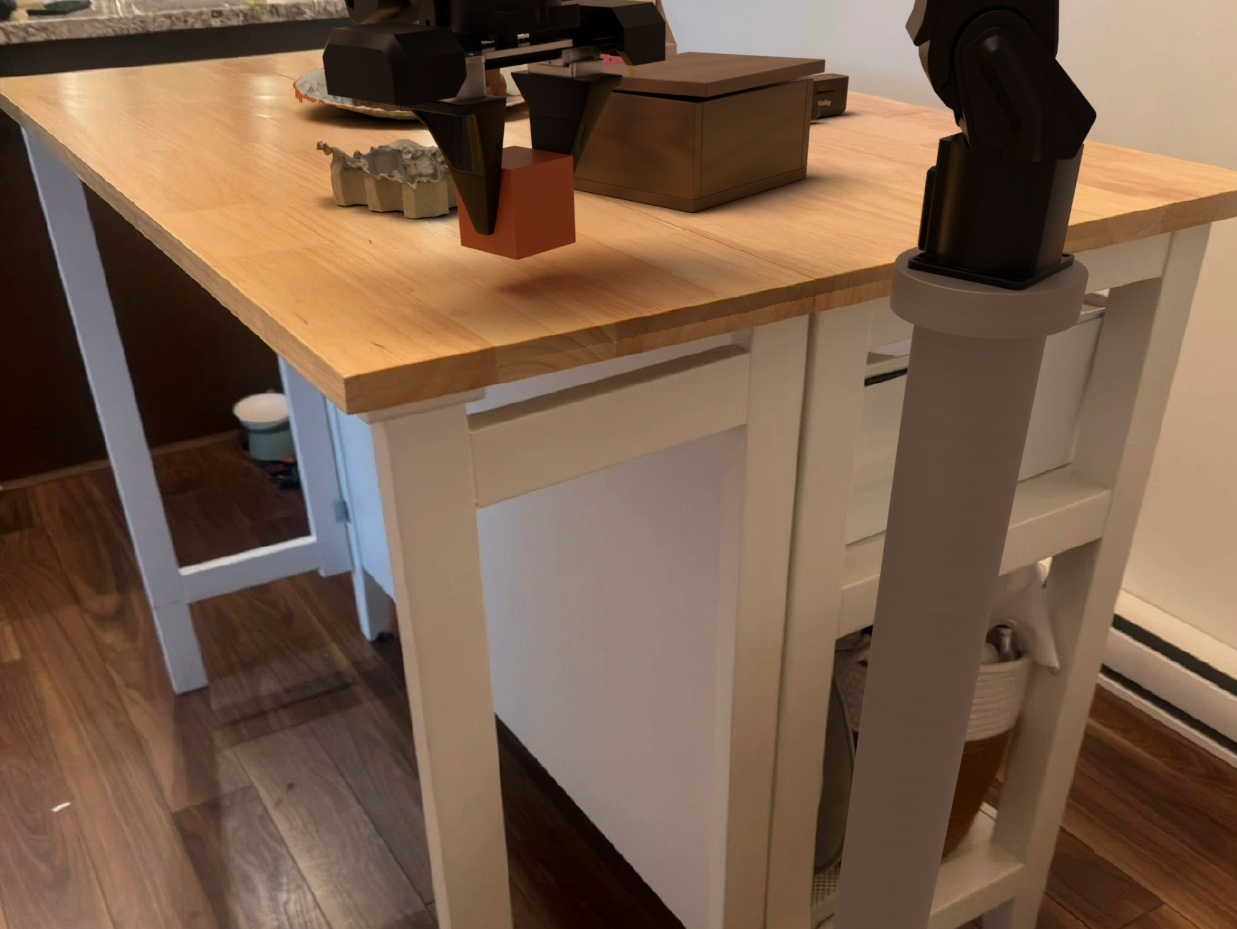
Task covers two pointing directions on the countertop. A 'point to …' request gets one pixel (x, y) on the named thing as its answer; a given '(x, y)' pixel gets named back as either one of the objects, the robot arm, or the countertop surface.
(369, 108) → the food on plate
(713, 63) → the lid
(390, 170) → the egg carton
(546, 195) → the block
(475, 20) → the robot arm
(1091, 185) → the countertop surface
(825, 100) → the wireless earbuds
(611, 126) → the chest
